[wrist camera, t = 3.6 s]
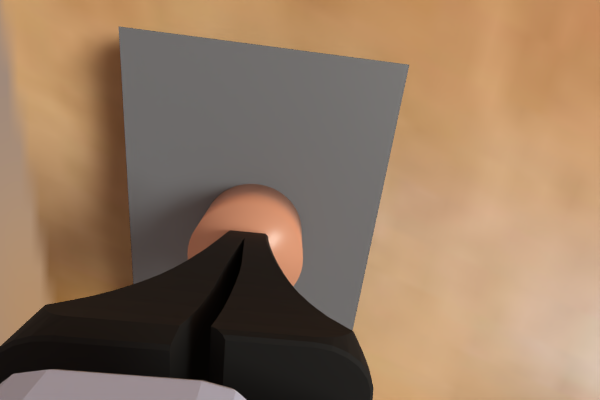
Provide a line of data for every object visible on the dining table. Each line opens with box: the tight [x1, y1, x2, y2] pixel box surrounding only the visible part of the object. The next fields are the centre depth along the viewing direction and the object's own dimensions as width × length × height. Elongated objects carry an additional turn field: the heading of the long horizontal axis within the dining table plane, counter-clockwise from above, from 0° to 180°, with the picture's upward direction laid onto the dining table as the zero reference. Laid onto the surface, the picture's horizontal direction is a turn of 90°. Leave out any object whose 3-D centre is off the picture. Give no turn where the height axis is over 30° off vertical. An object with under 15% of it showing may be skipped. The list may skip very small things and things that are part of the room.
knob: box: [187, 184, 303, 286], centre depth 14 cm, size 4×4×5 cm
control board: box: [119, 27, 409, 330], centre depth 17 cm, size 24×10×2 cm, turn 173°
